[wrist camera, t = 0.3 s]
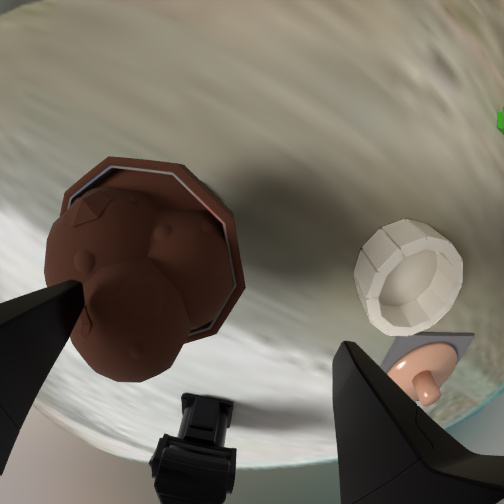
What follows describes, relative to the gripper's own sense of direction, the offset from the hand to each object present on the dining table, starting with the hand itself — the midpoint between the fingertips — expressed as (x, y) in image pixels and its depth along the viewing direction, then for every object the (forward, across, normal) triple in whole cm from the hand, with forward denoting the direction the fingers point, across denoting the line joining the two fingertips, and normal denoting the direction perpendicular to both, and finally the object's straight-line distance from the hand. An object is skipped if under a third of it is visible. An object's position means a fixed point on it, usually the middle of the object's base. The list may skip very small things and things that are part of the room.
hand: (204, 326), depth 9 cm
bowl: (+14, -15, +2) cm, 21 cm away
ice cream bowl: (+14, +4, +1) cm, 15 cm away
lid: (+14, -24, +14) cm, 32 cm away
